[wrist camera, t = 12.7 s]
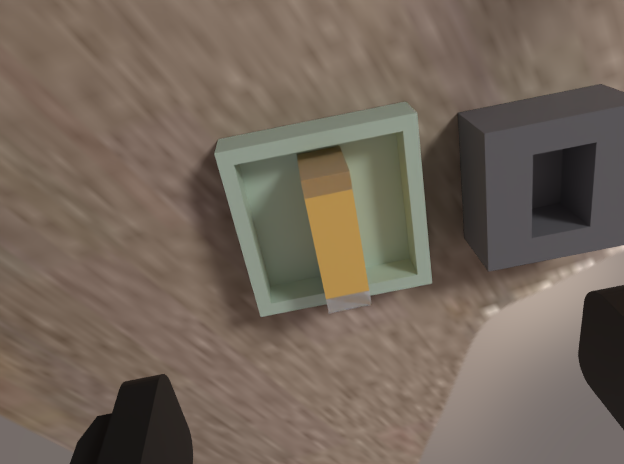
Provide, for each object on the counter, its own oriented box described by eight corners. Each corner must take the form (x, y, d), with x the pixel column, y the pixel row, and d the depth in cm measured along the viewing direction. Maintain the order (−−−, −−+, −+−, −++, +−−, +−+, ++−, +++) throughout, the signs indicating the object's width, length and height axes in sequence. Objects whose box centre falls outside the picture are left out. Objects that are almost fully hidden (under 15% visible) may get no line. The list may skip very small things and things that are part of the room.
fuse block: (464, 238, 40) (488, 271, 36) (457, 112, 36) (484, 133, 31) (591, 213, 40) (631, 243, 36) (601, 84, 36) (648, 100, 31)
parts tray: (261, 294, 41) (260, 317, 39) (218, 139, 35) (214, 153, 33) (421, 262, 41) (432, 283, 39) (405, 101, 35) (417, 112, 33)
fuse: (329, 313, 36) (300, 181, 31) (322, 275, 40) (296, 154, 36) (371, 304, 36) (349, 171, 31) (360, 267, 40) (339, 145, 36)
